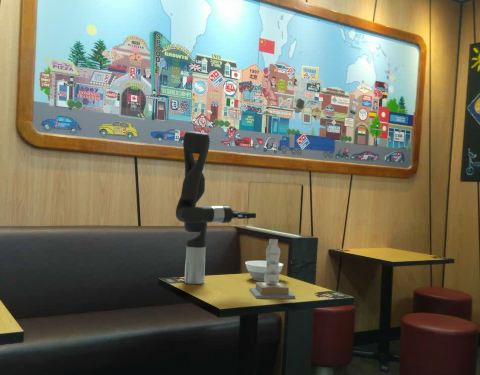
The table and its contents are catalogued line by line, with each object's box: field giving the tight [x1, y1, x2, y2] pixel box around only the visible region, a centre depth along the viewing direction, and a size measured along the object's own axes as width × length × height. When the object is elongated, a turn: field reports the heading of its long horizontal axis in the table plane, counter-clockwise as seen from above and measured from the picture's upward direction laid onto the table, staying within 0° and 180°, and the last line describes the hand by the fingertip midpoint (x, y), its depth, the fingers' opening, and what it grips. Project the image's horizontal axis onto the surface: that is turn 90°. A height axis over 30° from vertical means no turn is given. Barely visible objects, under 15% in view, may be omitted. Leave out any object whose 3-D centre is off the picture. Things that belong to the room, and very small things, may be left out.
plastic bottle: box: [263, 238, 281, 285], centre depth 224 cm, size 6×7×20 cm
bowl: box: [245, 260, 284, 282], centre depth 259 cm, size 19×19×8 cm
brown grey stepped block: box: [248, 281, 296, 300], centre depth 224 cm, size 17×16×4 cm
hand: (250, 214), depth 236 cm, fingers open, 8 cm apart
